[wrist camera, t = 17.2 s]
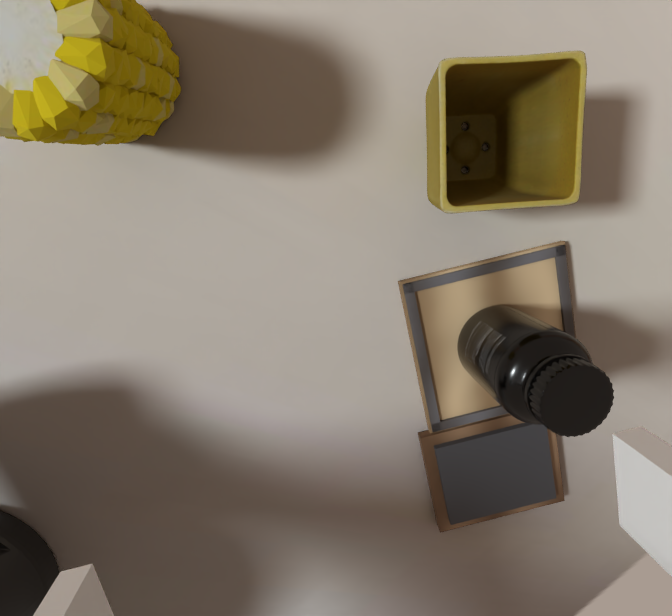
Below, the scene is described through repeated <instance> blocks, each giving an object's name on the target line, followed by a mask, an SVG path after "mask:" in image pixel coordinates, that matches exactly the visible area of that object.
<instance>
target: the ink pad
mask: <svg viewBox="0 0 672 616" xmlns="http://www.w3.org/2000/svg"><path fill="white" fill-rule="evenodd" d="M434 450H435V455H436V460H437V465H438V470H439V474H440V479H441V484H442V489H443V494H444V499H445V504H446V509H447V514H448V519H449V522H450V524H451V525H454V524H458V523H461V522H465V521H469V520H473V519H477V518H481V517H485V516H489V515H493V514H497V513H501V512H504V511H508V510H512V509H516V508H520V507H524V506H528V505H532V504H536V503H540V502H544V501H547V500H551V499H555V498H556V491H555V484H554V476H553V469H552V462H551V454H550V447H549V439H548V432H547V428H546V427H545V426H544V425H535V424H529V423H521V424H517V425H513V426H509V427H505V428H501V429H497V430H493V431H489V432H485V433H481V434H477V435H473V436H469V437H465V438H461V439H457V440H453V441H449V442H445V443H441V444H438V445H434Z"/></svg>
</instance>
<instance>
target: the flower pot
mask: <svg viewBox="0 0 672 616" xmlns="http://www.w3.org/2000/svg"><path fill="white" fill-rule="evenodd" d="M586 76H587V63H586V56H585V53H584V52H582V51H567V52H556V53H546V54H532V55H520V56H494V57H458V58H448V59H444V60H442V61H441V62H440V63H439V66H438V68H437V70H436V72H435V74H434V76H433V78H432V80H431V82H430V84H429V86H428V89H427V92H426V129H427V194H428V199H429V201H430V202H431V203H432V204H433V205H434V206H436V207H437V208H439V209H440V210H442V211H443V212H445V213H462V212H473V211H486V210H499V209H514V208H528V207H547V206H563V205H571V204H574V203H576V202H577V201H578V199H579V195H580V185H581V160H582V140H583V121H584V106H585V92H586ZM463 123H467V124H468V129H467V130H462V128H461V126H462V124H463ZM484 143H486V144H488V150H486V151H483V150H482V145H483V144H484ZM446 147H447V148H448V151H447V153H446ZM464 166H466V167H467V168H468V172H467V173H466V174H463V173H462V171H461V169H462V167H464Z"/></svg>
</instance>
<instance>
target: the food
mask: <svg viewBox="0 0 672 616" xmlns="http://www.w3.org/2000/svg"><path fill="white" fill-rule="evenodd" d="M172 46H173V44H172V43H171V41H170V39H169V37H168V36H167V32H166V31H165V30H164V29H163V27H161V25H160V24H159V23H158V22H157V21H153V20H152V18H151V16H150V14H149V13H148V12H147V11H146V10H145V9H144V7H143V6H142V5H139V4H138V3H137V2H136V1H135V0H0V136H5V137H6V138H7V139H18V140H23V141H24V142H27V141H37V142H38V141H42V142H44V143H51V142H52V143H55V142H58V143H62V144H65V143H67V144H81V145H87V144H95V145H97V146H98V145H101V144H103V143H105V144H119V143H129V142H132V141H135V140H137V139H139V137H140V136H141V135H143V134H144V135H151V136H154V135H155V133H156V131H157V130H158V128H159V126H160V125H161V123H162V122H163V121H164V120H165V119H168V118H169V117H170V116H171V114H172V113H173V112H174V101H175V100H176V98H177V97H178V96H179V94H180V92H181V87H180V85H179V83H178V81H177V79H176V77H179V57H178V56H177V55H176V54H175V53H174V52H173V51H172V50H171V47H172Z"/></svg>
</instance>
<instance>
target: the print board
mask: <svg viewBox="0 0 672 616" xmlns="http://www.w3.org/2000/svg"><path fill="white" fill-rule="evenodd" d="M398 284H399V289H400V294H401V298H402V303H403V308H404V313H405V318H406V323H407V328H408V333H409V337H410V342H411V347H412V352H413V357H414V362H415V367H416V371H417V376H418V381H419V386H420V391H421V396H422V401H423V406H424V410H425V415H426V420H427V425H428V430H429V432H430V433H434V432H438V431H442V430H446V429H449V428H453V427H457V426H461V425H465V424H469V423H473V422H477V421H481V420H485V419H489V418H493V417H497V416H501V415H505V414H509V413H508V412H507V411H506V410H505V409H504V408H503V407H502V406H501V405H500V404H499V403H498V402H497V401H496V400H495V399H494V398H493V397H492V396H491V395H490V394H489V393H488V392H487V391H486V390H485V389H484V388H483V387H482V386H481V385H480V384H479V383H478V382H476V381H475V380H474V379H473V378H472V377H471V375H470V374H469V373H468V372H467V371H466V370H465V369H464V367H463V366H462V364H461V362H460V360H459V356H458V351H457V343H458V338H459V334H460V332H461V329H462V328H463V326H464V324H465V323H466V322H467V320H468V319H469V318H470V317H471V316H472V315H474V314H475V313H476V312H478V311H480V310H482V309H484V308H487V307H490V306H495V305H505V306H510V307H513V308H516V309H518V310H521V311H523V312H525V313H527V314H529V315H531V316H533V317H535V318H537V319H539V320H541V321H543V322H545V323H547V324H549V325H551V326H553V327H555V328H558V329H560V330H562V331H564V332H566V333H568V334H569V335H571V336H573V337H574V338H576V335H575V326H574V317H573V308H572V299H571V290H570V281H569V272H568V263H567V254H566V245H565V241H559V242H555V243H551V244H546V245H542V246H538V247H534V248H530V249H526V250H522V251H518V252H514V253H510V254H506V255H502V256H498V257H494V258H490V259H486V260H482V261H478V262H474V263H469V264H465V265H461V266H457V267H453V268H449V269H445V270H441V271H437V272H433V273H429V274H425V275H421V276H417V277H413V278H409V279H405V280H401V281H398Z"/></svg>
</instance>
